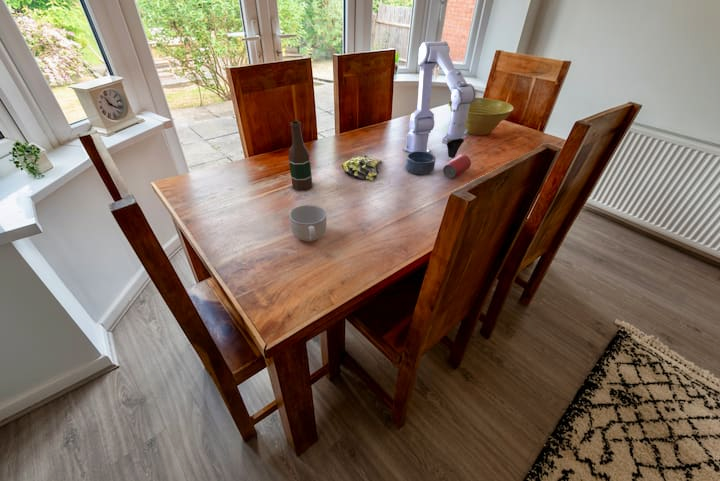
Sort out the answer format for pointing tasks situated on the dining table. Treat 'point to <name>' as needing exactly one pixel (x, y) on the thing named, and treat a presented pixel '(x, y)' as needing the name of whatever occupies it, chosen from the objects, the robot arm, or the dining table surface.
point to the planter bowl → (485, 115)
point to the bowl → (420, 162)
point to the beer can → (456, 166)
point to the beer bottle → (299, 160)
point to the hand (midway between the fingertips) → (451, 157)
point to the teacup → (308, 222)
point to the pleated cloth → (362, 167)
